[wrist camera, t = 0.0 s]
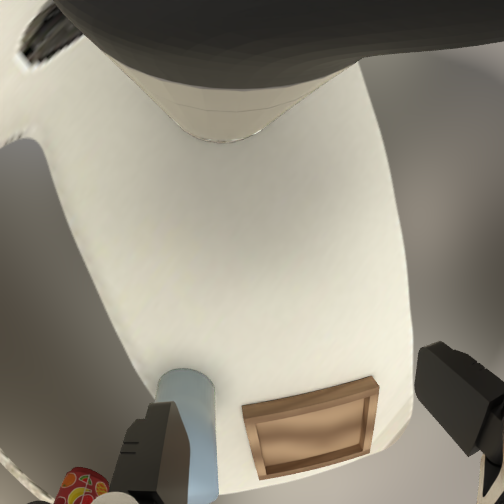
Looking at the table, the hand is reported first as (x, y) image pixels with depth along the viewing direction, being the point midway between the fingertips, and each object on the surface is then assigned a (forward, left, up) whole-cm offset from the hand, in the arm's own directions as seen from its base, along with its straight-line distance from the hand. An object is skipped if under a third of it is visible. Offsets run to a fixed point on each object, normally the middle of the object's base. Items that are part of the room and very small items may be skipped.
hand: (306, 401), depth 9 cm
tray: (+22, +4, -17) cm, 28 cm away
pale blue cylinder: (+13, -8, -17) cm, 23 cm away
